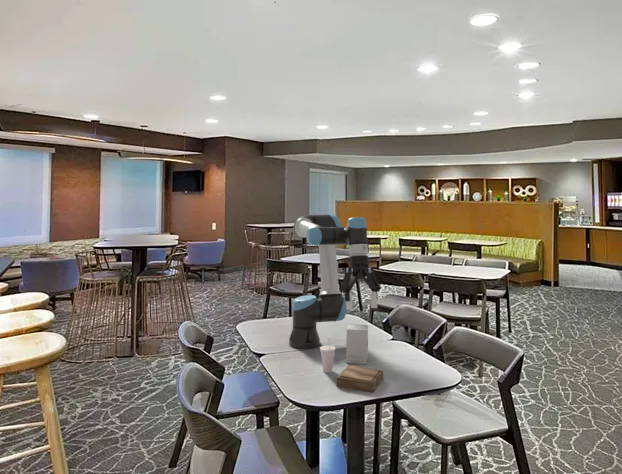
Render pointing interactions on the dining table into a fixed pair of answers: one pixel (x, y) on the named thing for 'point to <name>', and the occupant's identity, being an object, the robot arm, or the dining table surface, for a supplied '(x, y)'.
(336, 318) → the robot arm
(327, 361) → the smoothie
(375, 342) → the dining table surface
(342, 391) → the dining table surface
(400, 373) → the dining table surface
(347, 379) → the walnut tray
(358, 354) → the supplement box
